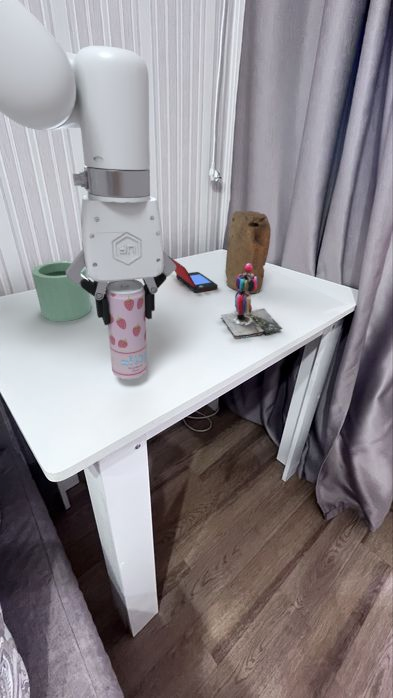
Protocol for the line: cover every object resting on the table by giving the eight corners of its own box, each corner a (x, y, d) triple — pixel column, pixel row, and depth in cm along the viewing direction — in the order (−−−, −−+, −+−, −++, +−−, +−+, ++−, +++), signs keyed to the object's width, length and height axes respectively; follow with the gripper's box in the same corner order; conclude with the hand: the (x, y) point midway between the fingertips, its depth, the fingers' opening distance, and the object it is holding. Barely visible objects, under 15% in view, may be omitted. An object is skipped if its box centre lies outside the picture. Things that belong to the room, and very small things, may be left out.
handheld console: (219, 289, 91) (221, 263, 87) (183, 295, 87) (184, 268, 83) (198, 274, 101) (199, 250, 97) (165, 279, 96) (165, 254, 92)
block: (221, 283, 95) (228, 209, 85) (242, 279, 99) (251, 208, 88) (244, 297, 88) (254, 218, 77) (266, 292, 91) (278, 216, 80)
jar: (43, 324, 71) (32, 280, 66) (41, 304, 79) (31, 263, 74) (94, 317, 75) (88, 274, 70) (87, 298, 83) (81, 259, 78)
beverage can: (122, 385, 52) (116, 296, 44) (106, 367, 55) (97, 282, 47) (153, 373, 55) (152, 287, 47) (136, 357, 58) (132, 275, 50)
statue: (235, 343, 70) (234, 277, 61) (220, 322, 77) (218, 260, 69) (282, 333, 72) (288, 267, 63) (263, 313, 79) (267, 252, 71)
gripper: (43, 188, 34) (69, 339, 44) (195, 190, 40) (188, 321, 50) (40, 179, 40) (63, 314, 50) (174, 182, 46) (171, 301, 56)
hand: (126, 316), depth 50 cm, fingers closed on beverage can, 5 cm apart
